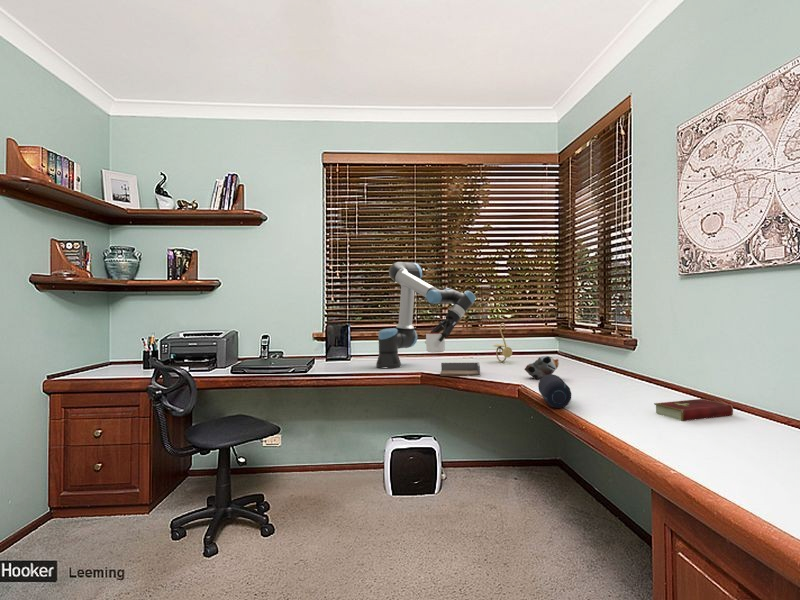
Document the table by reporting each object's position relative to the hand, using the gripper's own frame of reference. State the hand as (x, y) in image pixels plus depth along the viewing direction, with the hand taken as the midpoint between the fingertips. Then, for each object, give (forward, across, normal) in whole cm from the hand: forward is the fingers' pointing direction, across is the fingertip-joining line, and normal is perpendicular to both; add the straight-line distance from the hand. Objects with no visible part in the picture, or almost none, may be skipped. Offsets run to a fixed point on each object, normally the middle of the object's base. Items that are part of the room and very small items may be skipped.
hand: (430, 344), depth 273 cm
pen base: (+1, -4, -23) cm, 23 cm away
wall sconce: (-32, +25, -56) cm, 70 cm away
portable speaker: (+6, -88, -18) cm, 91 cm away
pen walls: (0, -4, -22) cm, 22 cm away
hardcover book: (-13, -126, -39) cm, 132 cm away
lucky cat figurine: (-19, -37, -43) cm, 60 cm away
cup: (+1, 0, -5) cm, 5 cm away
